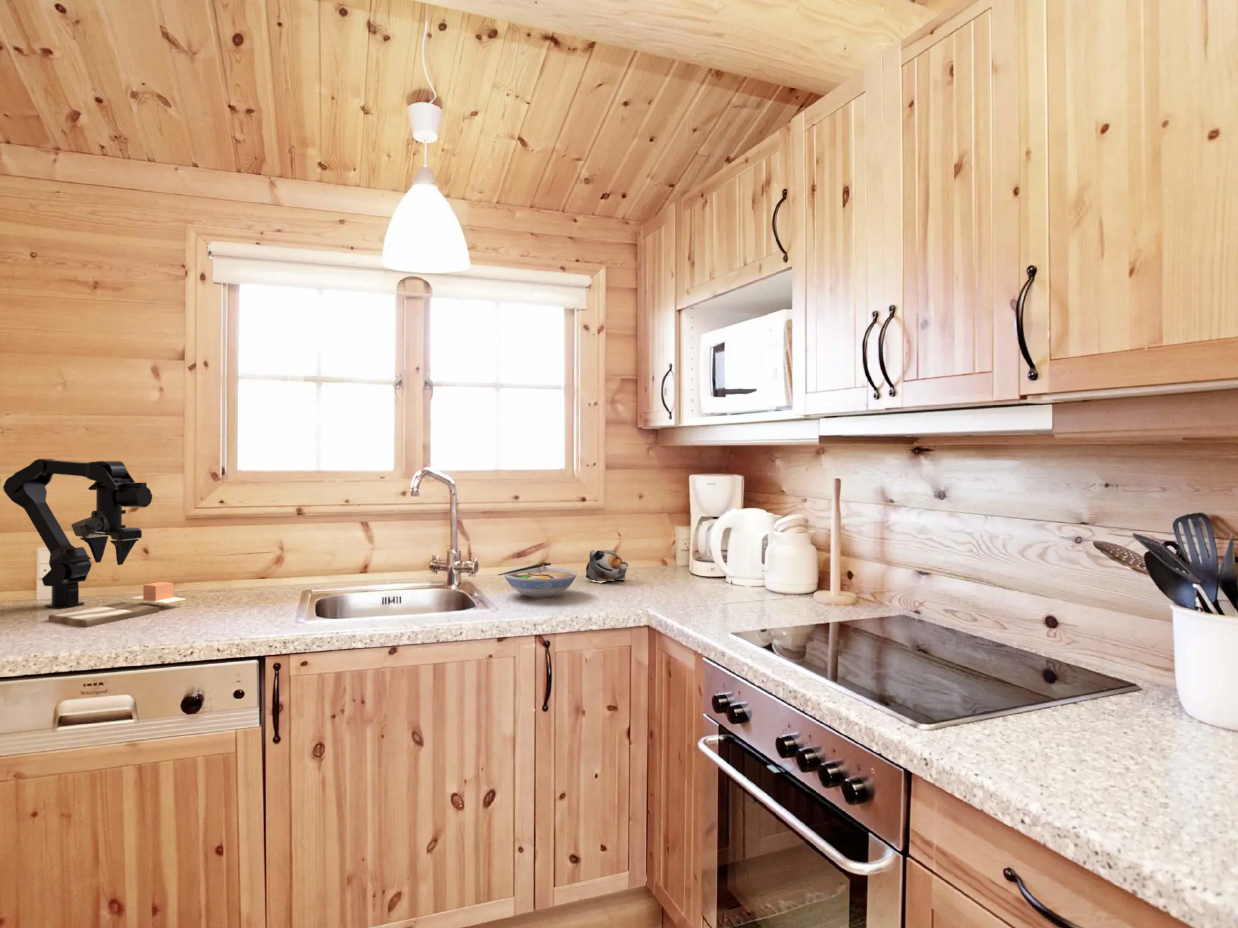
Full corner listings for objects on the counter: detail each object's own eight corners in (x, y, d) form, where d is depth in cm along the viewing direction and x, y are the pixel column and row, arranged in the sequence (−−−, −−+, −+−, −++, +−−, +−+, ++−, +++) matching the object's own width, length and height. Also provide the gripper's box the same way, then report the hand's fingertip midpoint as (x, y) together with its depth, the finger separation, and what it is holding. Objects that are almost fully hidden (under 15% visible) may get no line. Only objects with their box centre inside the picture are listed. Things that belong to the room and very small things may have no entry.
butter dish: (130, 598, 196) (130, 583, 196) (152, 594, 202) (152, 580, 202) (165, 603, 191) (165, 587, 191) (186, 599, 197) (186, 584, 197)
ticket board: (48, 620, 178) (48, 614, 178) (122, 606, 195) (122, 601, 195) (86, 626, 172) (86, 620, 172) (159, 612, 189) (159, 606, 189)
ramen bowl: (545, 608, 201) (545, 579, 201) (484, 598, 213) (485, 571, 213) (593, 594, 222) (594, 568, 222) (536, 585, 234) (536, 561, 234)
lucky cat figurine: (630, 579, 250) (637, 547, 243) (617, 598, 239) (623, 565, 233) (592, 564, 254) (597, 532, 247) (578, 582, 244) (582, 549, 237)
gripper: (55, 507, 190) (54, 565, 190) (100, 510, 182) (99, 570, 183) (99, 504, 200) (98, 559, 200) (143, 507, 193) (143, 564, 193)
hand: (108, 563), depth 194 cm, fingers open, 9 cm apart
